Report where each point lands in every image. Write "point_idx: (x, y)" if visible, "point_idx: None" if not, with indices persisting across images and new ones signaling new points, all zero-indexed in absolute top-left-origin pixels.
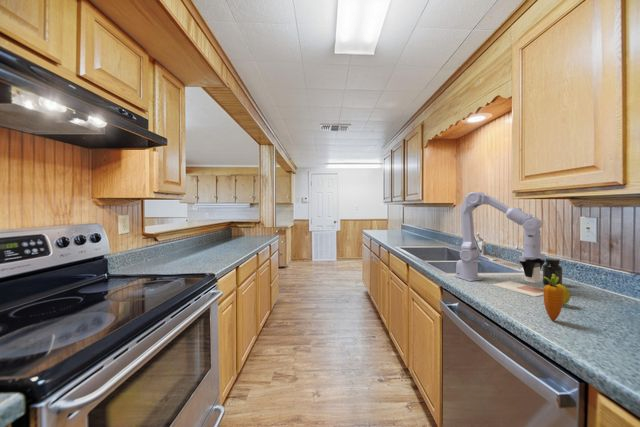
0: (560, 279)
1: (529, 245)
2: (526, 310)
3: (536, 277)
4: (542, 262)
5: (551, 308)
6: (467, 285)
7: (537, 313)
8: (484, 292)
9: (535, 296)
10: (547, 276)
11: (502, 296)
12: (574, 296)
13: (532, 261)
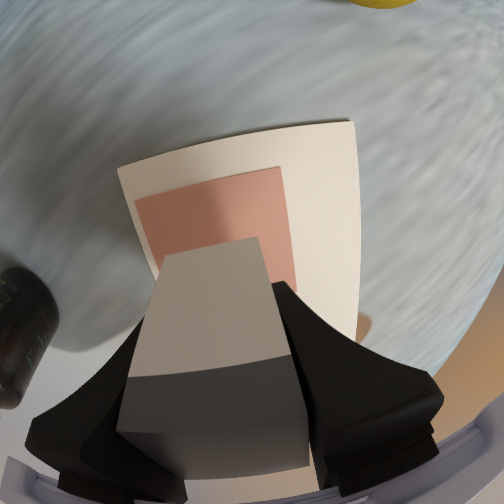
0: None
1: None
2: (500, 54)
3: (222, 268)
4: (78, 430)
5: None
6: (432, 342)
7: (489, 23)
8: (470, 258)
9: (345, 122)
10: (31, 334)
11: (468, 194)
12: (65, 90)
13: (167, 476)
